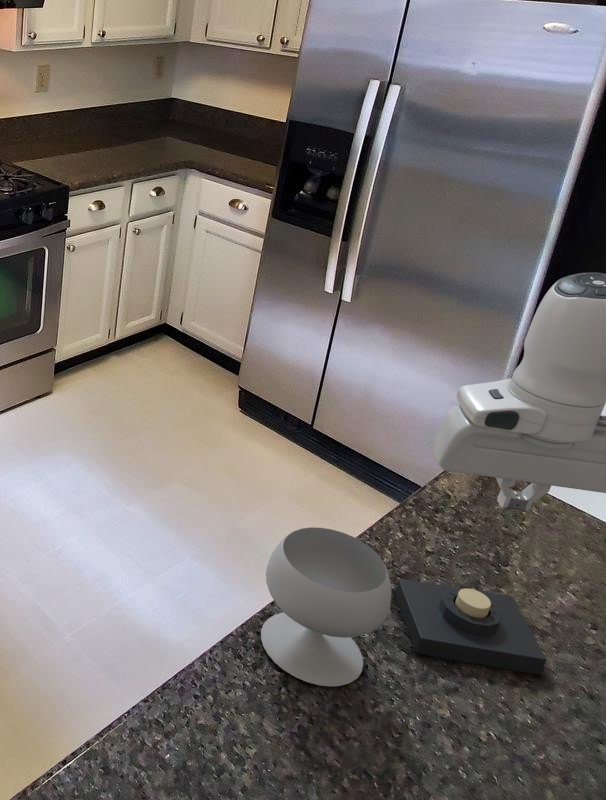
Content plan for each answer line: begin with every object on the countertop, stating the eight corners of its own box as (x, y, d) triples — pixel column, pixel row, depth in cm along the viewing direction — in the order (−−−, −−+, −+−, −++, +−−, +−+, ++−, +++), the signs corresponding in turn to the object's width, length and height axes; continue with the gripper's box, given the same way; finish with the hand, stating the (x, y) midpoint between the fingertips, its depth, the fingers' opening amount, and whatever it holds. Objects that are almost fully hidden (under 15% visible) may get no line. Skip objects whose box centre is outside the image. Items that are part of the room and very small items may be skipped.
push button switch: (481, 601, 104) (485, 590, 104) (491, 621, 101) (495, 610, 101) (451, 596, 105) (454, 586, 104) (460, 616, 102) (463, 605, 101)
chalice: (290, 593, 111) (310, 507, 105) (391, 657, 101) (420, 565, 95) (231, 641, 104) (249, 551, 97) (334, 715, 93) (361, 619, 87)
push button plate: (506, 611, 108) (516, 585, 106) (540, 675, 98) (551, 648, 97) (394, 593, 111) (401, 568, 109) (415, 653, 102) (424, 627, 100)
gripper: (640, 408, 92) (597, 505, 98) (444, 385, 96) (415, 478, 102) (670, 437, 86) (623, 538, 92) (461, 411, 91) (429, 508, 97)
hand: (512, 506), depth 97 cm, fingers closed
